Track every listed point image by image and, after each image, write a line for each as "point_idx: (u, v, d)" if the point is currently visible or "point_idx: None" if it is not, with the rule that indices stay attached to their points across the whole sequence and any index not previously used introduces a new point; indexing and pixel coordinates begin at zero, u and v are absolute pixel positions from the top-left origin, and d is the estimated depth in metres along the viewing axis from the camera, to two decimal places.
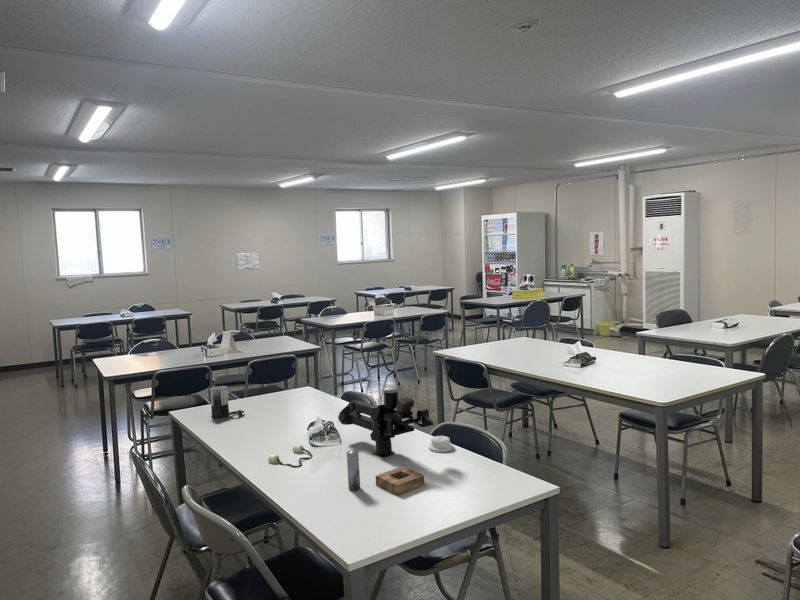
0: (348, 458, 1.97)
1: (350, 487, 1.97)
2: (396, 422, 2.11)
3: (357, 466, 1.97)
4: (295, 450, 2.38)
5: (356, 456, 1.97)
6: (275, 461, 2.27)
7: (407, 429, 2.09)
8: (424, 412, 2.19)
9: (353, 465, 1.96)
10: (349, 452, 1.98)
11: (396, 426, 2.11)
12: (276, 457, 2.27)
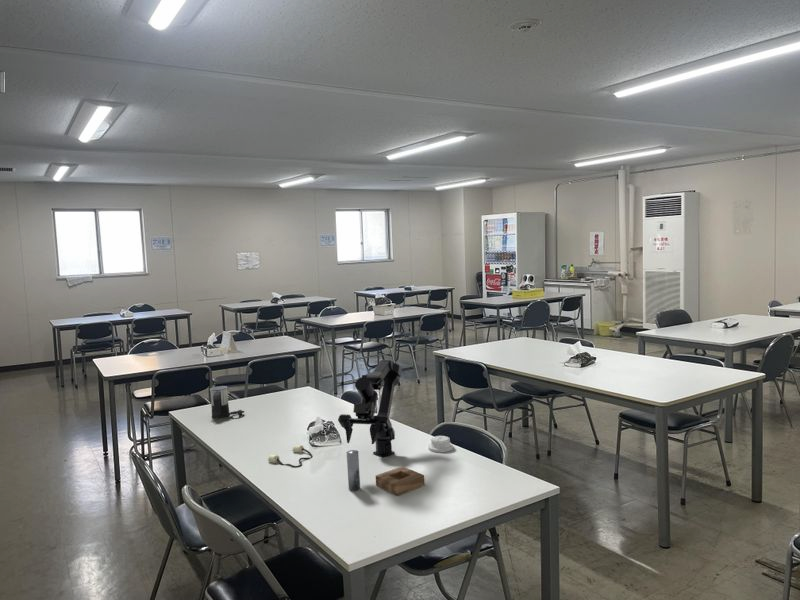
0: (348, 458, 1.97)
1: (350, 487, 1.97)
2: (342, 423, 2.10)
3: (357, 466, 1.97)
4: (295, 450, 2.38)
5: (356, 456, 1.97)
6: (275, 461, 2.27)
7: None
8: (378, 424, 2.06)
9: (353, 465, 1.96)
10: (349, 452, 1.98)
11: (343, 425, 2.11)
12: (276, 457, 2.27)
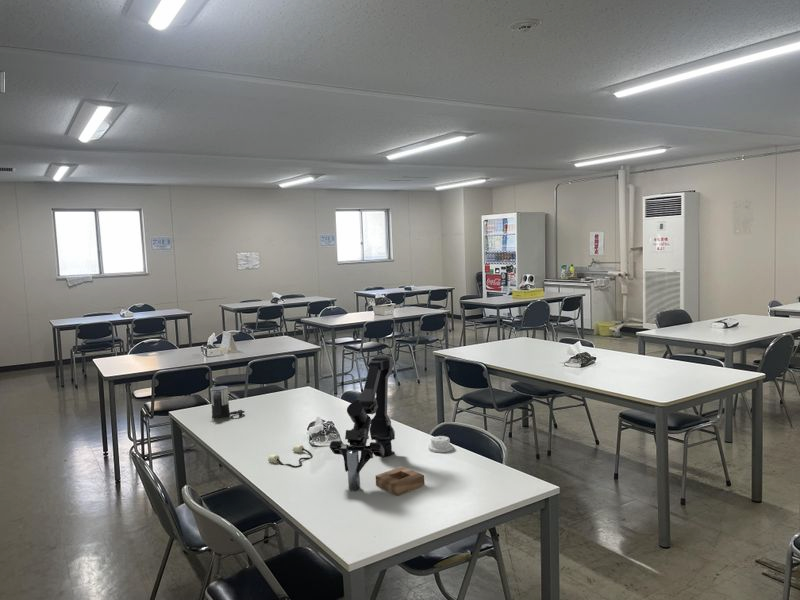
0: (348, 458, 1.97)
1: (350, 487, 1.97)
2: (340, 451, 2.01)
3: (357, 466, 1.97)
4: (295, 450, 2.38)
5: (356, 456, 1.97)
6: (275, 461, 2.27)
7: None
8: (364, 451, 1.98)
9: (353, 465, 1.96)
10: (349, 452, 1.98)
11: (341, 452, 2.02)
12: (276, 457, 2.27)
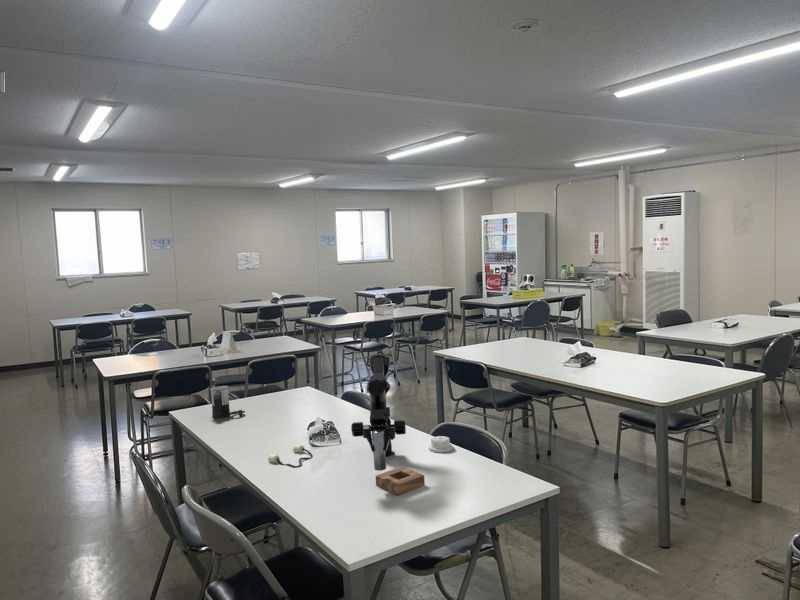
0: (375, 438, 1.95)
1: (377, 467, 1.96)
2: (364, 431, 1.99)
3: (384, 445, 1.97)
4: (295, 450, 2.38)
5: (383, 435, 1.96)
6: (275, 461, 2.27)
7: (370, 445, 1.98)
8: (389, 429, 1.98)
9: (381, 444, 1.96)
10: (375, 432, 1.96)
11: (364, 433, 2.00)
12: (276, 457, 2.27)
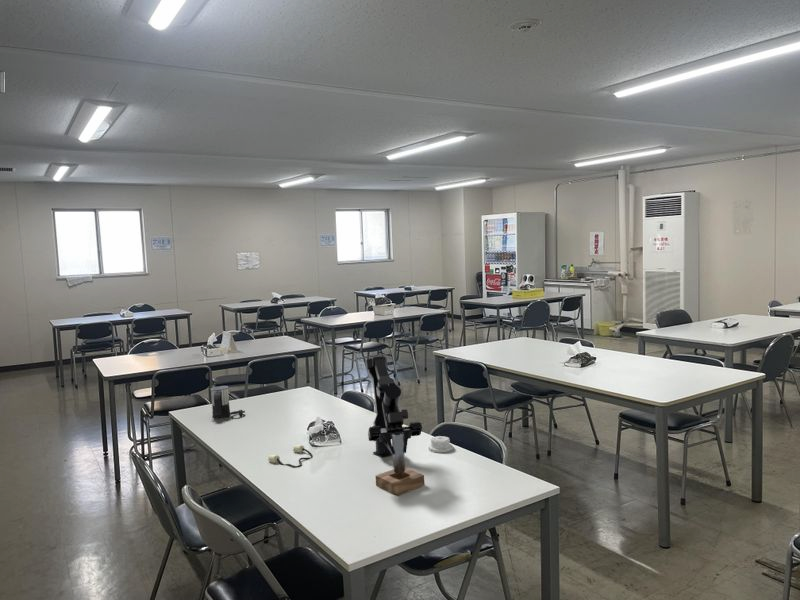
0: (396, 440, 1.97)
1: (398, 469, 1.98)
2: (382, 435, 1.99)
3: (403, 447, 1.99)
4: (295, 450, 2.38)
5: (403, 437, 1.98)
6: (275, 461, 2.27)
7: (389, 448, 1.99)
8: (407, 431, 2.01)
9: (401, 446, 1.97)
10: (395, 434, 1.98)
11: (381, 437, 2.01)
12: (276, 457, 2.27)
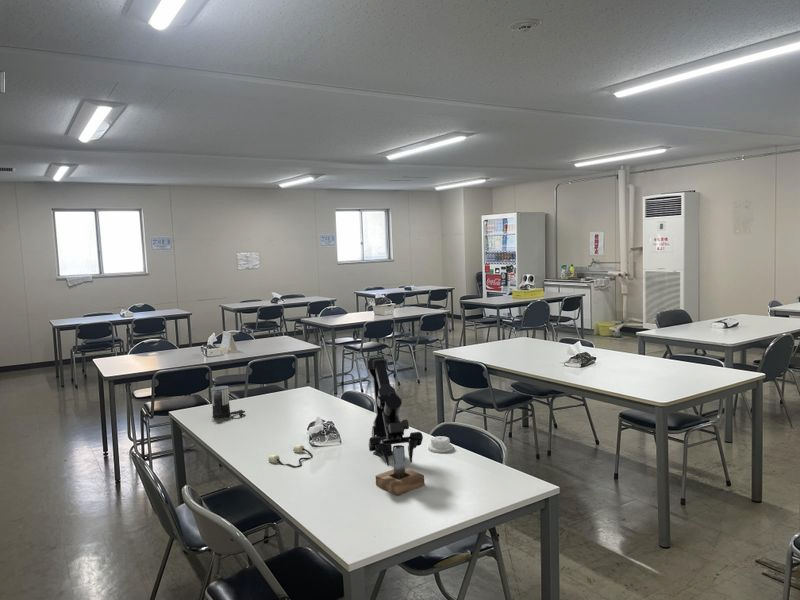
0: (397, 453, 1.97)
1: None
2: (377, 446, 1.99)
3: (404, 460, 1.99)
4: (296, 450, 2.38)
5: (403, 450, 1.99)
6: (275, 461, 2.27)
7: (384, 459, 1.99)
8: (413, 441, 2.01)
9: (402, 459, 1.98)
10: (396, 447, 1.98)
11: (377, 448, 2.00)
12: (276, 457, 2.27)
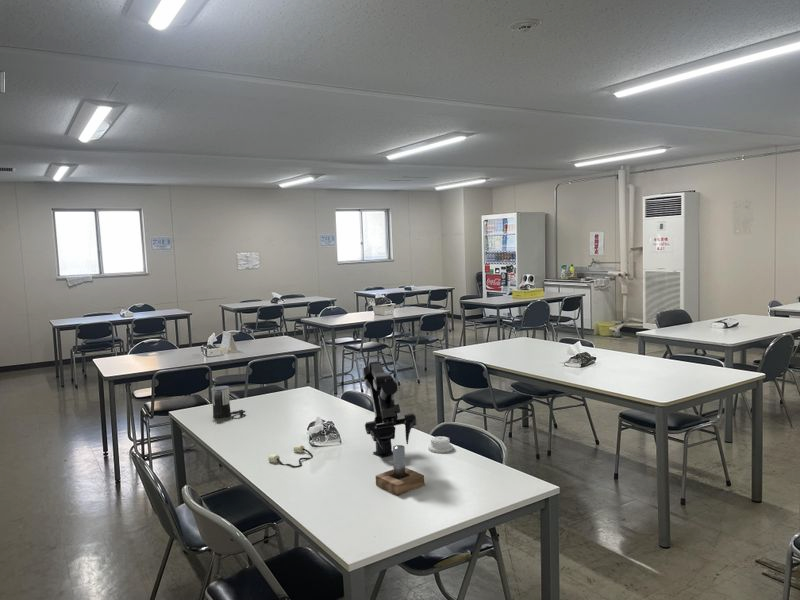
0: (397, 453, 1.97)
1: None
2: (371, 431, 2.10)
3: (404, 460, 1.99)
4: (296, 450, 2.38)
5: (404, 450, 1.99)
6: (275, 461, 2.27)
7: (378, 442, 2.10)
8: (408, 423, 2.10)
9: (402, 459, 1.98)
10: (396, 447, 1.98)
11: (371, 432, 2.11)
12: (276, 457, 2.27)
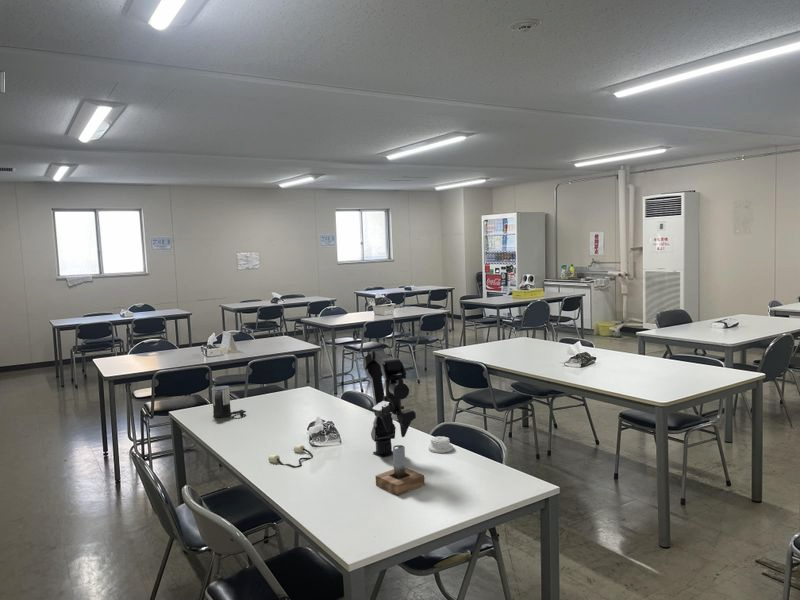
0: (397, 453, 1.97)
1: None
2: None
3: (404, 460, 1.99)
4: (296, 450, 2.38)
5: (404, 450, 1.98)
6: (275, 461, 2.27)
7: None
8: (399, 422, 2.08)
9: (403, 459, 1.98)
10: (396, 448, 1.98)
11: None
12: (276, 457, 2.27)
